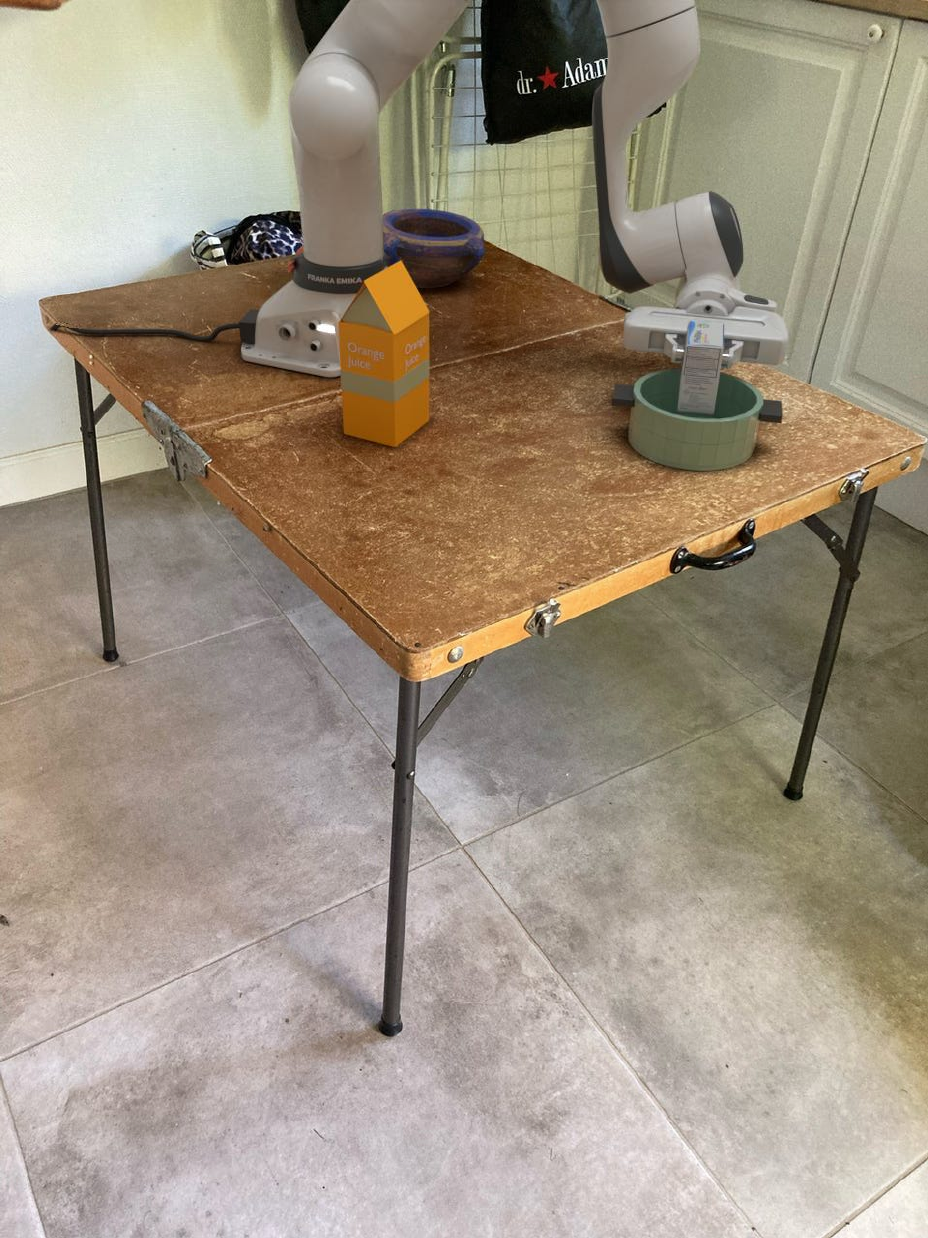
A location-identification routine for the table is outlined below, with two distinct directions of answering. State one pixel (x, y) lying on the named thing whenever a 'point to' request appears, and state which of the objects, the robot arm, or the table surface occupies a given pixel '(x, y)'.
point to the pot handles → (768, 414)
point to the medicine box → (701, 367)
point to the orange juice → (385, 359)
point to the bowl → (432, 244)
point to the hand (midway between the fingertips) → (702, 359)
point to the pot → (694, 423)
